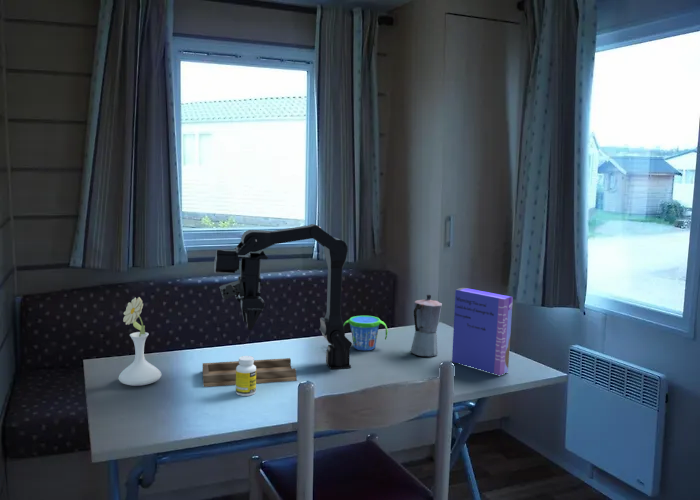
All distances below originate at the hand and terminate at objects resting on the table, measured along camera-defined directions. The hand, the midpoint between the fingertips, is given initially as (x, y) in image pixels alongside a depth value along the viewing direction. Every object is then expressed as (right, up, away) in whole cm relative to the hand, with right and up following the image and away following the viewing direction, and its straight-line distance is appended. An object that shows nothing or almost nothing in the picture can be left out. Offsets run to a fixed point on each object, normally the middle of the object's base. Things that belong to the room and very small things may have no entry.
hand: (247, 325), depth 177 cm
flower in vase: (-28, -15, -9) cm, 33 cm away
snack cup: (+35, -11, +29) cm, 47 cm away
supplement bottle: (+2, -17, -14) cm, 22 cm away
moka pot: (+55, -13, +24) cm, 61 cm away
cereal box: (+71, -15, +12) cm, 73 cm away
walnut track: (+1, -15, -1) cm, 15 cm away
